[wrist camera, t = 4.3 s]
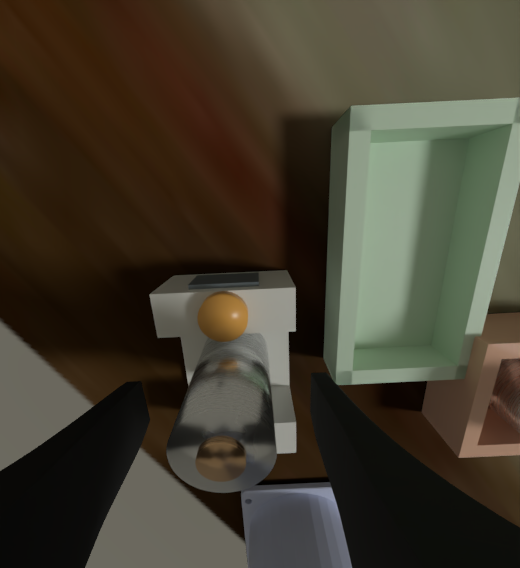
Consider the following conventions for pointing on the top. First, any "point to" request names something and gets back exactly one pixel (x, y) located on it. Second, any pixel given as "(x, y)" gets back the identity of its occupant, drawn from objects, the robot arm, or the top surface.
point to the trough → (416, 235)
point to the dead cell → (507, 392)
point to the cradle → (234, 325)
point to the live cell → (226, 418)
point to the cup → (477, 395)
